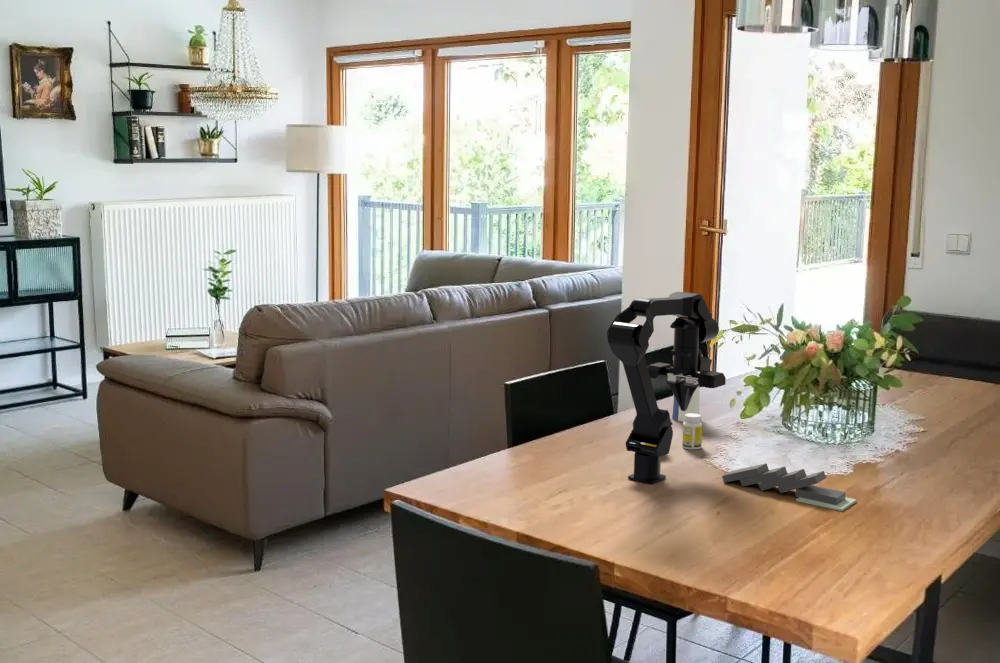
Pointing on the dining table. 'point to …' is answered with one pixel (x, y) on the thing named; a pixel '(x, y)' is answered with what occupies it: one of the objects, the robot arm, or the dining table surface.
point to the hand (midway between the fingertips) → (683, 410)
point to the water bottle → (692, 406)
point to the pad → (839, 507)
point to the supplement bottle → (692, 431)
